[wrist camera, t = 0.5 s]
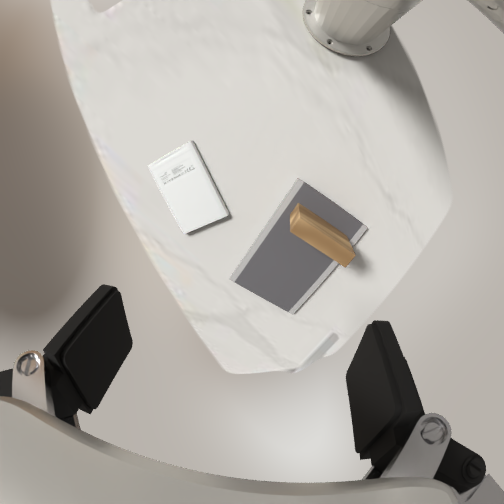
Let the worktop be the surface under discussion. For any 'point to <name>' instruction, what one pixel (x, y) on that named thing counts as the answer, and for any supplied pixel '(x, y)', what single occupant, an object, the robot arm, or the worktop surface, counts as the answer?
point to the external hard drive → (188, 188)
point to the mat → (292, 251)
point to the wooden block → (321, 235)
